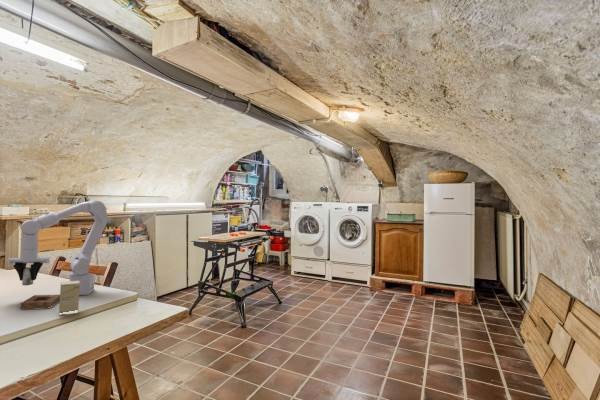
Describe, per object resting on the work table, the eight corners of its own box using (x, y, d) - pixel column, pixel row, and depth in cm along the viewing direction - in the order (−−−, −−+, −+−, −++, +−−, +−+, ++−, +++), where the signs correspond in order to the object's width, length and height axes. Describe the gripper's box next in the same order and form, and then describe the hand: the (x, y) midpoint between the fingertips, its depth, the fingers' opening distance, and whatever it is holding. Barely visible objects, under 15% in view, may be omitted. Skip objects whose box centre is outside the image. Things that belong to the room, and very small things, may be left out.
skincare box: (58, 316, 123) (60, 284, 123) (58, 312, 126) (60, 281, 126) (78, 313, 127) (80, 282, 127) (78, 309, 130) (79, 280, 130)
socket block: (61, 300, 140) (61, 294, 140) (49, 308, 130) (50, 302, 130) (34, 300, 137) (34, 295, 137) (20, 309, 127) (20, 303, 127)
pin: (34, 282, 139) (35, 266, 139) (30, 285, 136) (31, 268, 136) (24, 283, 138) (25, 267, 138) (20, 285, 135) (21, 269, 135)
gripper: (53, 246, 143) (52, 277, 143) (14, 246, 139) (13, 277, 139) (45, 249, 136) (44, 281, 136) (4, 249, 132) (3, 282, 132)
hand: (28, 279), depth 137 cm, fingers closed on pin, 4 cm apart
